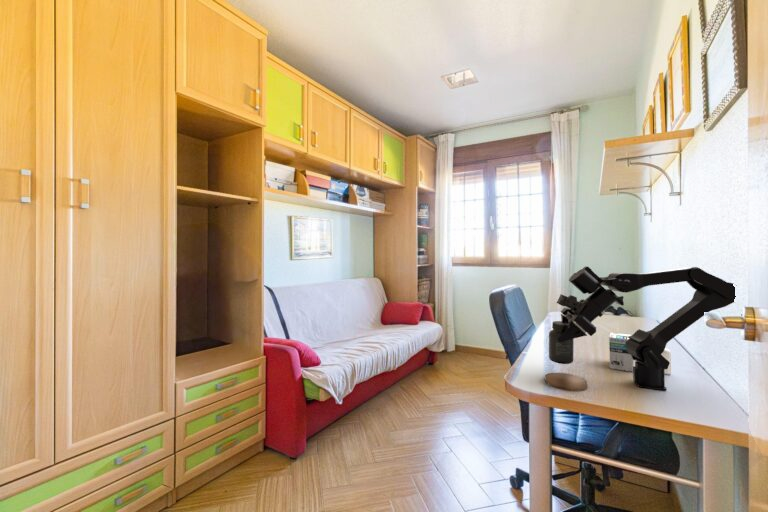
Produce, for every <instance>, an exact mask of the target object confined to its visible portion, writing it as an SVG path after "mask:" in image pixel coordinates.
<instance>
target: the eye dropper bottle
mask: <svg viewBox="0 0 768 512" xmlns="http://www.w3.org/2000/svg"><path fill="white" fill-rule="evenodd" d="M661 355H662V356H663V357H664V358H665V359H666V360H668V361H669V362H670V364H669V366H668V369H664V375H666V374H667V375H666V376H668V375H671V374H672V352H671V351H670V349H669V348H666V347H665V350H664V352H663V353H662V354H661Z"/></svg>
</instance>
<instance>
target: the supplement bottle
mask: <svg viewBox="0 0 768 512" xmlns="http://www.w3.org/2000/svg"><path fill="white" fill-rule="evenodd" d="M551 325H552V326H551V328H552V329H551V330H550V331H549V332H548V358H549V360H550V361H552V362H553V363H556V364H561V365H571V364H573V362H574V354H575V353H574V352H575V351H574V345H575V343H574V342H575V341H574V339H575V338H574V339H571V340H567V341H564V342H559V341H558V340H557V339H558V338H559V337H560V335H561V334H562V333H563V332H564V331H565V329H566V328H567V327H568V323H567V322H563V321H562V320H557V321H556V320H555V321H552V323H551Z"/></svg>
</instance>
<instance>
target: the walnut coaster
mask: <svg viewBox="0 0 768 512" xmlns="http://www.w3.org/2000/svg"><path fill="white" fill-rule="evenodd" d="M544 378H545V379H544V380H545V383H546V384H547V385H549V386H551V387H552V388H553V387H554V388H555V389H560V390H564V391H570V392H581V391H582V392H583V391H586V390H587V389H588V381H587V379H585V378H583V377H581V376H579V375H576V374H571V373H565V372H549V373H546V374H545V376H544Z"/></svg>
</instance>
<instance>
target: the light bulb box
mask: <svg viewBox="0 0 768 512" xmlns="http://www.w3.org/2000/svg"><path fill="white" fill-rule="evenodd" d="M631 335H632V334H628V333H627V334H625V333H620V332H619V333H618V332H612V331H610V333H609V337H608V341H609V342H608V343H609V344H608V345H609V346H608V348H609V369H611V370H612V369H613V370H618V371H624V370H625V372H630V371H632V372H631V373H633V366H634V365H635V362H634V361H635V360H633V358H632V356H631V354H629V353H628V352H627V350H626V344H625V343H626V341H627V340H628V339H630V338H628V336H631Z"/></svg>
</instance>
